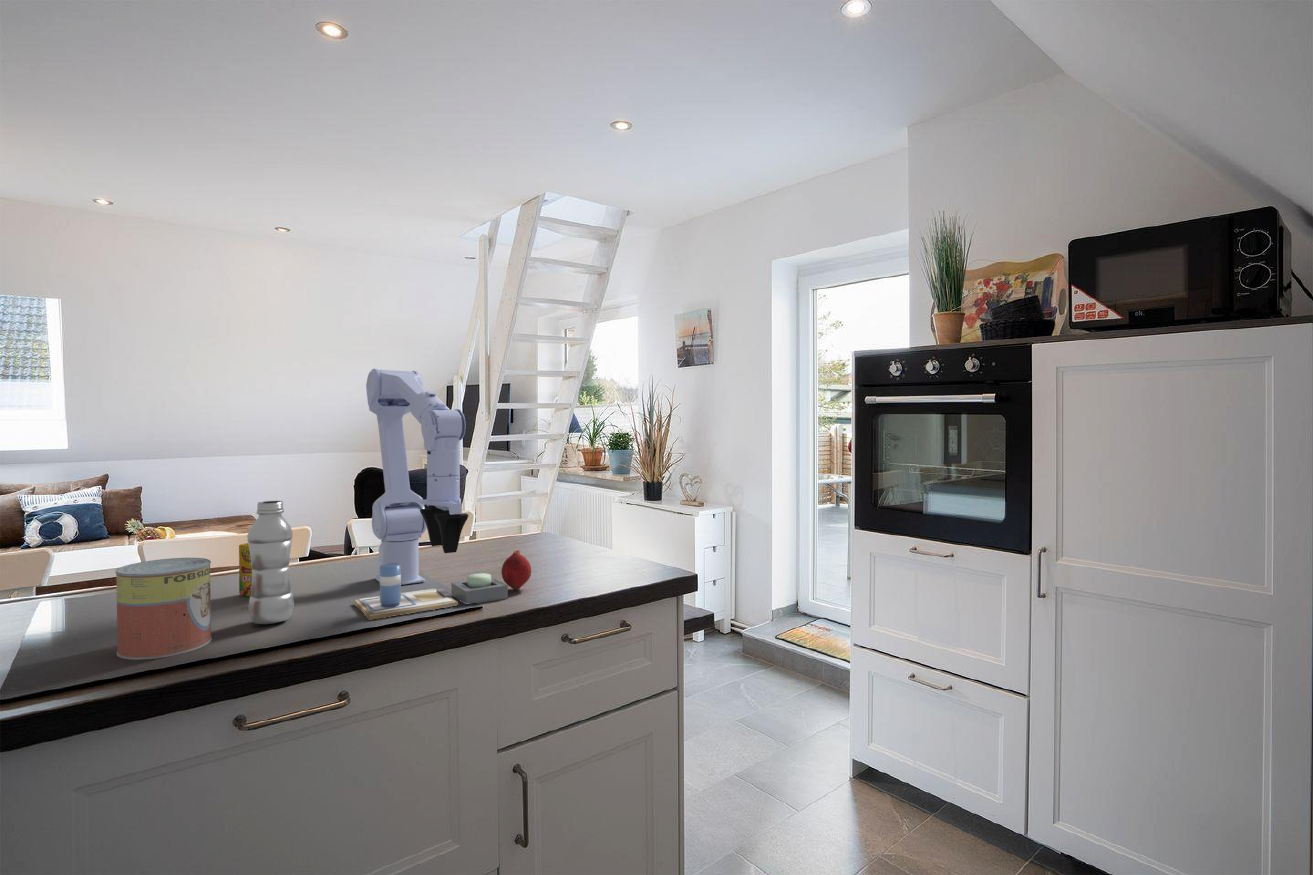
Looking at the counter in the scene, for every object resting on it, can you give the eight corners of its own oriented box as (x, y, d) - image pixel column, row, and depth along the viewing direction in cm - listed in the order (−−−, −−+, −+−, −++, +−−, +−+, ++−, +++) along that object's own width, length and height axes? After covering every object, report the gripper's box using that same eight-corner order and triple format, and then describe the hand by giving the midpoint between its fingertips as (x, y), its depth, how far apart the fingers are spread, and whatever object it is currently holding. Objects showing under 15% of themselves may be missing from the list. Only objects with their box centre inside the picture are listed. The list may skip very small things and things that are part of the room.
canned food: (190, 656, 94) (189, 572, 93) (98, 662, 91) (97, 575, 91) (224, 631, 105) (223, 556, 104) (143, 636, 102) (142, 558, 102)
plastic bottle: (303, 618, 112) (302, 500, 111) (268, 630, 105) (267, 505, 105) (274, 614, 114) (273, 498, 113) (238, 626, 107) (237, 503, 107)
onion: (527, 593, 129) (527, 552, 129) (498, 593, 129) (498, 552, 129) (533, 586, 135) (533, 547, 134) (505, 586, 135) (505, 546, 134)
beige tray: (354, 604, 121) (354, 596, 121) (436, 592, 129) (436, 584, 129) (369, 620, 111) (369, 612, 111) (458, 606, 120) (458, 598, 120)
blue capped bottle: (378, 604, 117) (378, 564, 117) (398, 601, 119) (398, 562, 119) (381, 608, 114) (381, 568, 114) (402, 606, 116) (402, 566, 116)
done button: (463, 585, 127) (463, 575, 127) (486, 582, 129) (486, 572, 129) (472, 590, 123) (472, 579, 123) (494, 587, 126) (494, 576, 126)
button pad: (451, 595, 127) (451, 582, 127) (491, 589, 132) (491, 576, 132) (466, 605, 121) (466, 591, 121) (507, 598, 125) (507, 585, 125)
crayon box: (238, 596, 126) (237, 534, 125) (252, 592, 128) (252, 532, 128) (265, 600, 123) (265, 537, 123) (280, 596, 126) (279, 535, 125)
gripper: (410, 473, 125) (410, 544, 126) (433, 479, 113) (433, 558, 114) (447, 471, 129) (447, 541, 130) (473, 477, 117) (473, 553, 118)
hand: (443, 549), depth 122 cm, fingers open, 7 cm apart
